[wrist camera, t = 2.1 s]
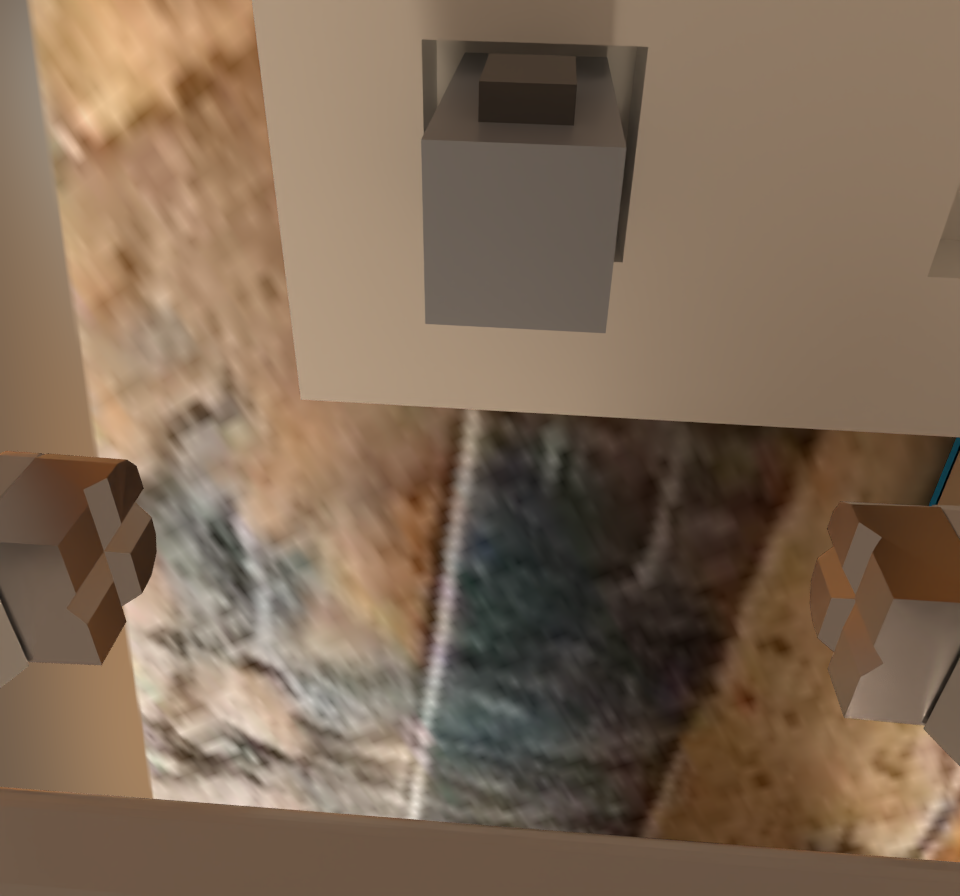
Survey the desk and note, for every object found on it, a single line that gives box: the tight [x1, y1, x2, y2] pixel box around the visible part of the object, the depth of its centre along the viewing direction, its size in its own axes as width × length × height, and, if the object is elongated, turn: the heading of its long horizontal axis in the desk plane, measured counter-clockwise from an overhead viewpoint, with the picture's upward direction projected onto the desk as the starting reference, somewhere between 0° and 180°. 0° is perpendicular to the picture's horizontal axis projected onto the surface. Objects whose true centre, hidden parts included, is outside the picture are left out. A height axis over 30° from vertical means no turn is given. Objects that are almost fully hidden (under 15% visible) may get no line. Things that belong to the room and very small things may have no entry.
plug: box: [421, 52, 627, 333], centre depth 21 cm, size 5×4×9 cm
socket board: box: [252, 0, 960, 437], centre depth 24 cm, size 16×28×4 cm, turn 89°
